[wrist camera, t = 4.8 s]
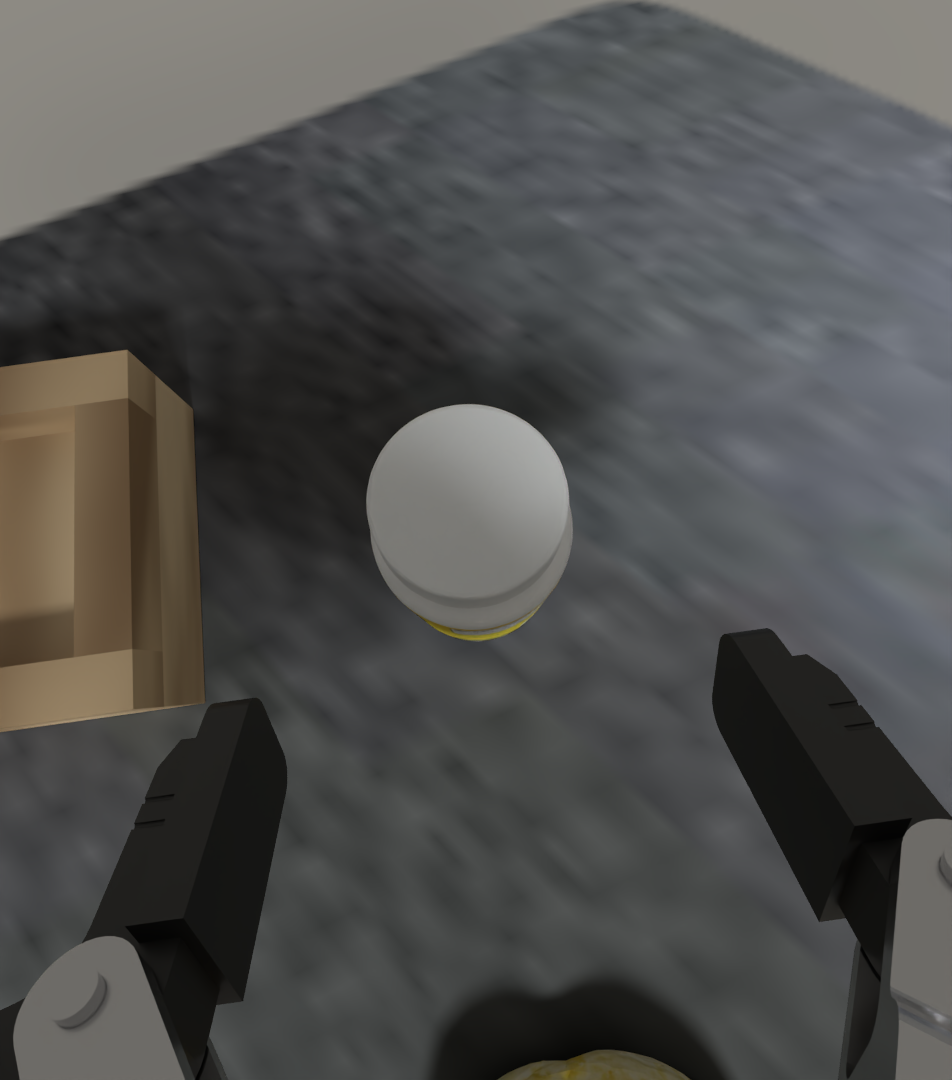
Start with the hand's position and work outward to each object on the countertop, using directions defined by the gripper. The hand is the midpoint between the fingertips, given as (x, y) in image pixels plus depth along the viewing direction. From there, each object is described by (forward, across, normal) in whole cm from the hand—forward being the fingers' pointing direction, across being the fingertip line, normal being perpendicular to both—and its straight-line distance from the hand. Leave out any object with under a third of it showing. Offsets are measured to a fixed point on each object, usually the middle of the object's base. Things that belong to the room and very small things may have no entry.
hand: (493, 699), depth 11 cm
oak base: (+10, +14, +2) cm, 17 cm away
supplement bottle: (+9, 0, +4) cm, 10 cm away
